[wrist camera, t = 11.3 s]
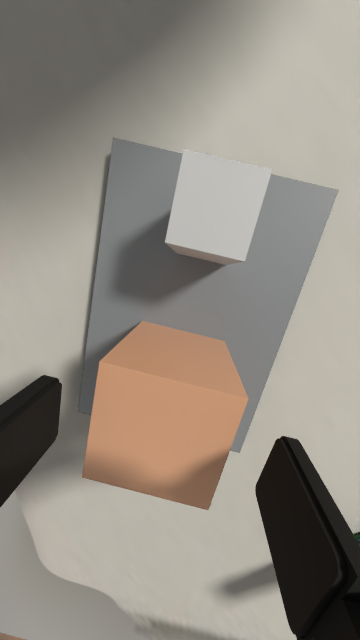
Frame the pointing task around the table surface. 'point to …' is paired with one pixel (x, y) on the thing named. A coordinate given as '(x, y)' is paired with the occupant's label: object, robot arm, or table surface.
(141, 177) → the board
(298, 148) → the table surface
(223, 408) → the tan matte cube
